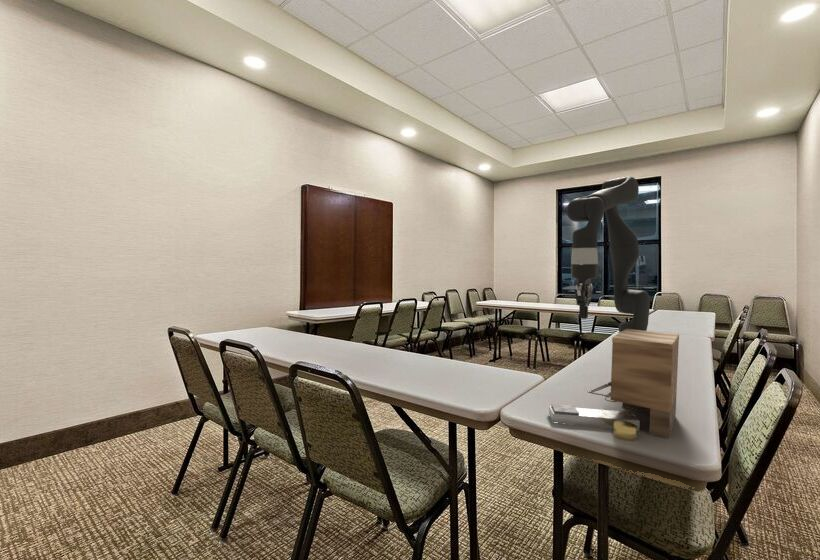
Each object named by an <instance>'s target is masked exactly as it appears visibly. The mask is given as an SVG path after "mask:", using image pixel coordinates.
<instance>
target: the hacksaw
mask: <svg viewBox="0 0 820 560" xmlns="http://www.w3.org/2000/svg"><path fill="white" fill-rule="evenodd" d="M609 386H611V381H609V382H607V383H605V384H603V385H600V386H598V387H597V388H596V387H595V388H594V389H592V390H588V391H589V392H588V391H587V393H589V394H592V395H598V396H602V397H604V400H605V401H607V402H612V403H616V402H617V403H618V401H613V400H610V399H607V398H611V391H610V392H609V393H607V394H602V393H598V392H597V391H599V390H600V391H601V390H602V389H604V388H607V387H609ZM590 391H591V392H590ZM596 392H597V393H596Z"/></svg>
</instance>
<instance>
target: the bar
mask: <svg viewBox="0 0 820 560" xmlns="http://www.w3.org/2000/svg"><path fill="white" fill-rule="evenodd" d="M549 415H550V416H549ZM548 416H549V418H550V417H551V418H550V420H551V419H552V420H551V422H552V421H553V422H558V423H565V424H564V425H566V424H573V425H572V426H578V425H580V426H581V427H592V428H603V429H605V428H606V429H614V422H615V421H627V422H630V423H633V424H635V425H636V426H637V432H638V431H640V424H641V423H640V422H641V421H640V420H639V418H637V416H635V415H634V413H632V411H623V410H621V411H620V410H611V409H610V410H609V409H600V408H599V409H597V408H584V407H576V406H574V405H565V404H554V403H552V404H551V405H549V406H548ZM553 422H552V423H553Z"/></svg>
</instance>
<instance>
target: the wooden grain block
mask: <svg viewBox="0 0 820 560" xmlns="http://www.w3.org/2000/svg"><path fill="white" fill-rule="evenodd" d="M611 340H612V342H611V343H612V344H611V345H612V346H611V347H612V349H611V350H612V351H611V375H610V376H611V377H610V382H611V385H610V392H611V396H610V399H609V401H617V403H618V402H619V403H621V404H622V408H625V409H626V408H627V409H631V410H636V411H640V412H645V413H649V435H651V436H655V437H660V438H664V439H667V440H669V439H670V436H671V432H672V430H673V425H674V423H675V419H676V417H677V416H676V413H677V410H676V409H677V390H678V367H679V366H678V364H679V345H680V344H679V343H680V341H679V340H680V334H679V333H671V332H660V331H659V332H658V331H651V330H647V331H643V330H633V329H625V330H624V331H622V332H620V333H619V334H618V333H617V334H615V335H614V336H612V337H611Z"/></svg>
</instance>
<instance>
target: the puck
mask: <svg viewBox="0 0 820 560" xmlns="http://www.w3.org/2000/svg"><path fill="white" fill-rule="evenodd" d="M637 434H638V431H637V426H636V425H635V424H633V423H630V422H627V421H615V422H614V428H613V436H614V437H615V438H617V439H619V440H623V441H627V442H634V441H637V438H638V435H637Z"/></svg>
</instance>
